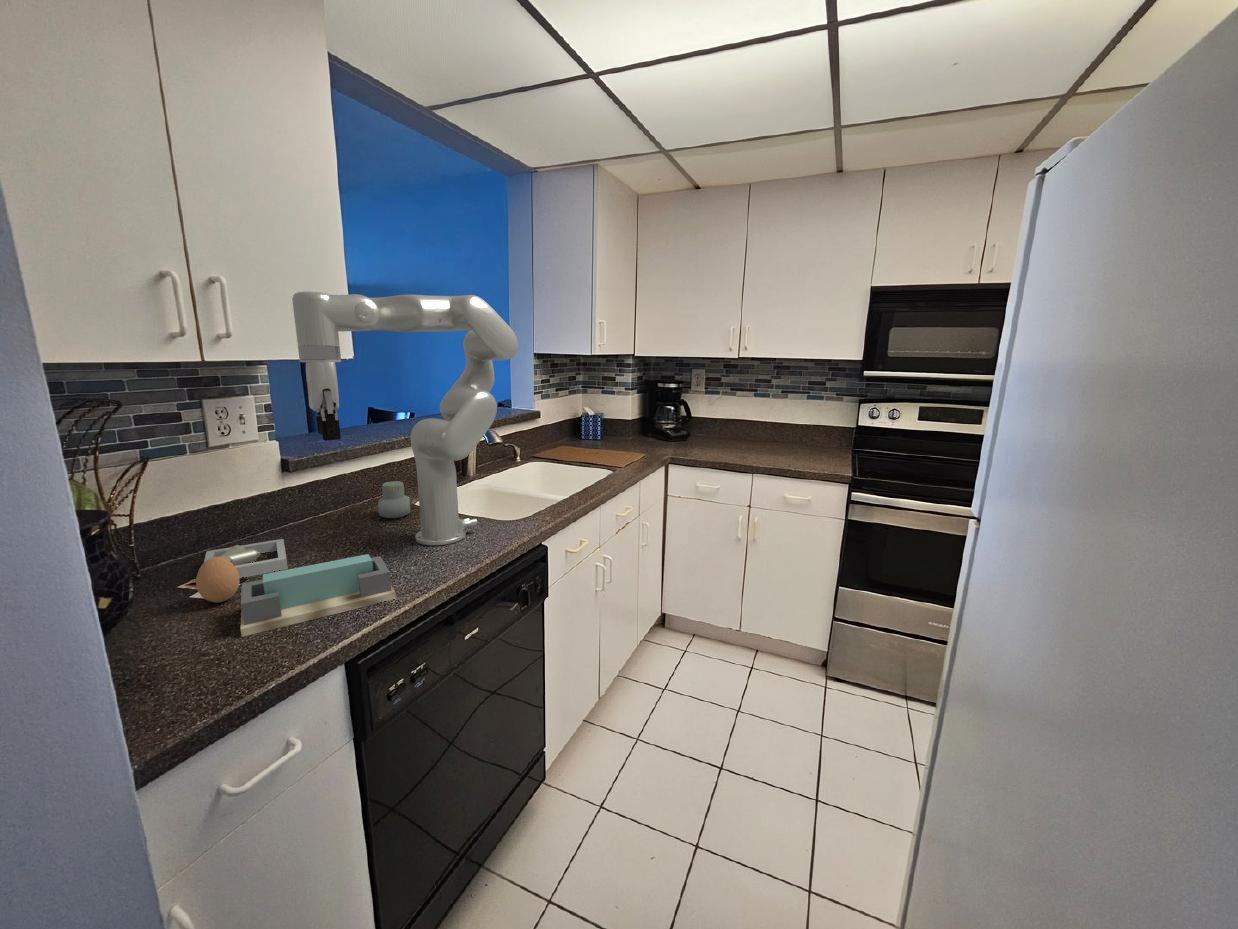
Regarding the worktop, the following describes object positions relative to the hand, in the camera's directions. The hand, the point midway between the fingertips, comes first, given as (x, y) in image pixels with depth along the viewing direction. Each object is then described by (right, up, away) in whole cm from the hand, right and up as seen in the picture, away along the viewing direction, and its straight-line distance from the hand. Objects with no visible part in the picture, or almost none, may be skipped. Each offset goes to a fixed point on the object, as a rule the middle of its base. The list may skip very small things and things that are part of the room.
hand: (329, 436), depth 110 cm
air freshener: (-5, -22, +44) cm, 49 cm away
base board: (+4, -33, -10) cm, 35 cm away
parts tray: (-23, -29, +8) cm, 38 cm away
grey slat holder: (+4, -32, -10) cm, 33 cm away
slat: (+4, -32, -10) cm, 33 cm away
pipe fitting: (-25, -30, +8) cm, 39 cm away
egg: (-16, -33, -9) cm, 38 cm away
